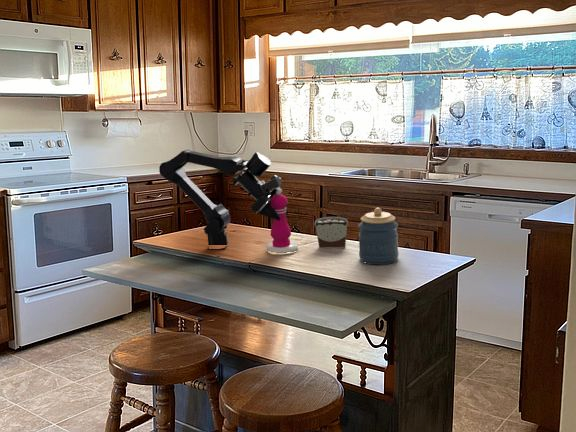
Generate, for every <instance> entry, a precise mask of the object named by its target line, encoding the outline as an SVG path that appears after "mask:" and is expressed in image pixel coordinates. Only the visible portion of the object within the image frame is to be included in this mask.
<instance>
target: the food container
mask: <svg viewBox="0 0 576 432" xmlns="http://www.w3.org/2000/svg"><path fill="white" fill-rule="evenodd" d="M348 226H350V225H349V221H348V219H347V218H344V217H341V216H326V217H320V218H317V219H316V220H315V221H314V224H313V227H314V228H315V229H316V238H317V243H318V249H339V248H341V249H342V248H343V249H344V248H346V245H347V243H346V242H347V232H348V229H347V228H348Z"/></svg>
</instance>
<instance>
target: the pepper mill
mask: <svg viewBox="0 0 576 432" xmlns="http://www.w3.org/2000/svg"><path fill="white" fill-rule="evenodd" d="M281 193H282V192H281V191H280V190H277V191H276V195H274V196H273V197H272V198H271V205H272V207H273V208H274V210H275V211H276V212H277V213H278V215H279V216H280V217H281V219H280V220H279V221H278V220H276V219H273V222H272V225H271V229H270V236H271V238H272V239H273V240H272V242H271V243H273V246H274V247H278V248H282V247H287V246H289V245H290V241H291V240H290V237H291V235H292V232H291V231H292V230H291V228H290V226H289V224H288V221H287V219H286V217H287V216H286V207H287V205H288V198H287V196H285V195H284V194H281Z"/></svg>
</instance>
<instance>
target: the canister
mask: <svg viewBox="0 0 576 432" xmlns="http://www.w3.org/2000/svg"><path fill="white" fill-rule="evenodd" d="M395 220H396V216H394V215H392V214H391V213H390V212H386V211H382V208H380V207H375V208H374V210H373V211H370V212H367V213H365V214H364V215H363V216H361V217H360V222H359V224H358V225H357V226H358V228H359V233H358V242H359V243H358V245H359V247H358V248H359V252H358V256H359V260H360V261H361V262H362V263H364V262H366V263H370V264H369V265H372V264H385V265H389V264H393V263H396V262H397V261H398V259H399V241H398V240H399V233H398V232H397V230H398V229H397V228H398V227H399V223H398V222H396V221H395ZM366 263H365V264H366Z"/></svg>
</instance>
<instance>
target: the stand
mask: <svg viewBox="0 0 576 432" xmlns="http://www.w3.org/2000/svg"><path fill="white" fill-rule="evenodd" d="M267 250H268V251H271V252H276V253H287V252H294V251H297V250H298V251H299V245H298V242H296V241H293V240H290V245H289V246H287V247H282V248H278V247H274V246H273V243H272V242H269V243H267V245H266V251H267ZM298 251H297V252H298Z"/></svg>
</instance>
